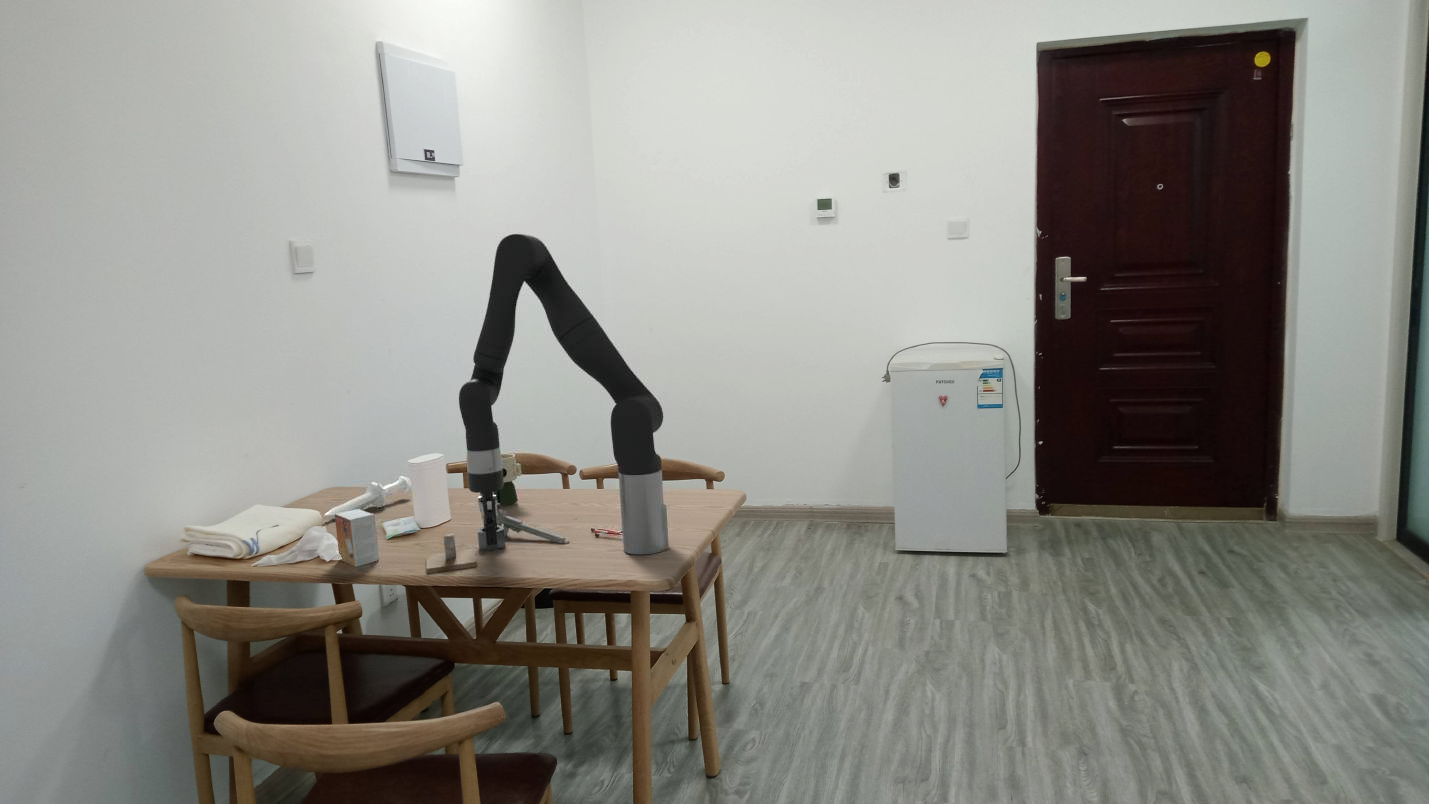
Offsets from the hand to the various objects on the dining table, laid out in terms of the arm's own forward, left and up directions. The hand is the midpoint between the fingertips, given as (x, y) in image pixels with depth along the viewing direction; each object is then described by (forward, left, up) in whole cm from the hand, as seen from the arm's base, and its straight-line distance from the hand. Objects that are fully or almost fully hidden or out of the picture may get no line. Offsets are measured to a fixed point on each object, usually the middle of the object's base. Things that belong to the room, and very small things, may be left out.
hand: (490, 539), depth 208 cm
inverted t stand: (+9, +8, -2) cm, 12 cm away
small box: (+28, -3, -2) cm, 28 cm away
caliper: (-9, -2, -2) cm, 10 cm away
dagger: (+28, -48, -2) cm, 56 cm away
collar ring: (0, 0, -2) cm, 2 cm away
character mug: (-6, -36, -2) cm, 36 cm away
